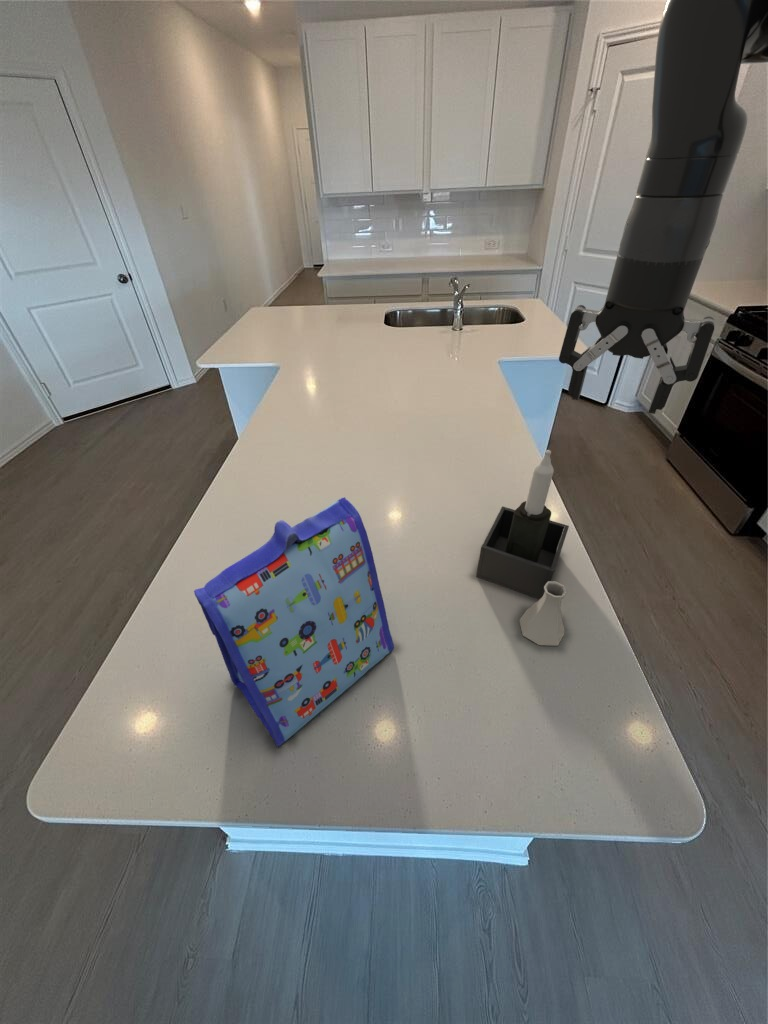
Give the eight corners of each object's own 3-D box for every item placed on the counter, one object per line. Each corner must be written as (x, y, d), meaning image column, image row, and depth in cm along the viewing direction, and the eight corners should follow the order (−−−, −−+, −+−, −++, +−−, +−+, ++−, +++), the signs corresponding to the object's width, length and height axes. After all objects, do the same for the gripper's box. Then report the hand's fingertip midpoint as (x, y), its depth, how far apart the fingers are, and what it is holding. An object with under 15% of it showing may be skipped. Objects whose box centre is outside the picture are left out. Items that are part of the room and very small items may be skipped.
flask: (565, 617, 74) (581, 577, 67) (562, 653, 69) (580, 614, 62) (521, 605, 76) (533, 566, 69) (515, 639, 71) (527, 600, 64)
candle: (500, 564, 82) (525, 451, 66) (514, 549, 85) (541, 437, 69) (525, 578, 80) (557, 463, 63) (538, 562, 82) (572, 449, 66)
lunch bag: (342, 602, 77) (324, 467, 59) (396, 652, 70) (395, 515, 51) (231, 683, 66) (164, 549, 48) (280, 753, 59) (224, 625, 40)
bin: (558, 555, 85) (569, 525, 80) (544, 601, 76) (554, 571, 71) (496, 535, 89) (502, 506, 84) (475, 576, 81) (481, 547, 76)
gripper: (576, 254, 43) (545, 406, 54) (750, 262, 38) (678, 430, 48) (590, 242, 48) (559, 383, 59) (745, 247, 43) (680, 402, 53)
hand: (612, 404), depth 53 cm, fingers open, 8 cm apart
